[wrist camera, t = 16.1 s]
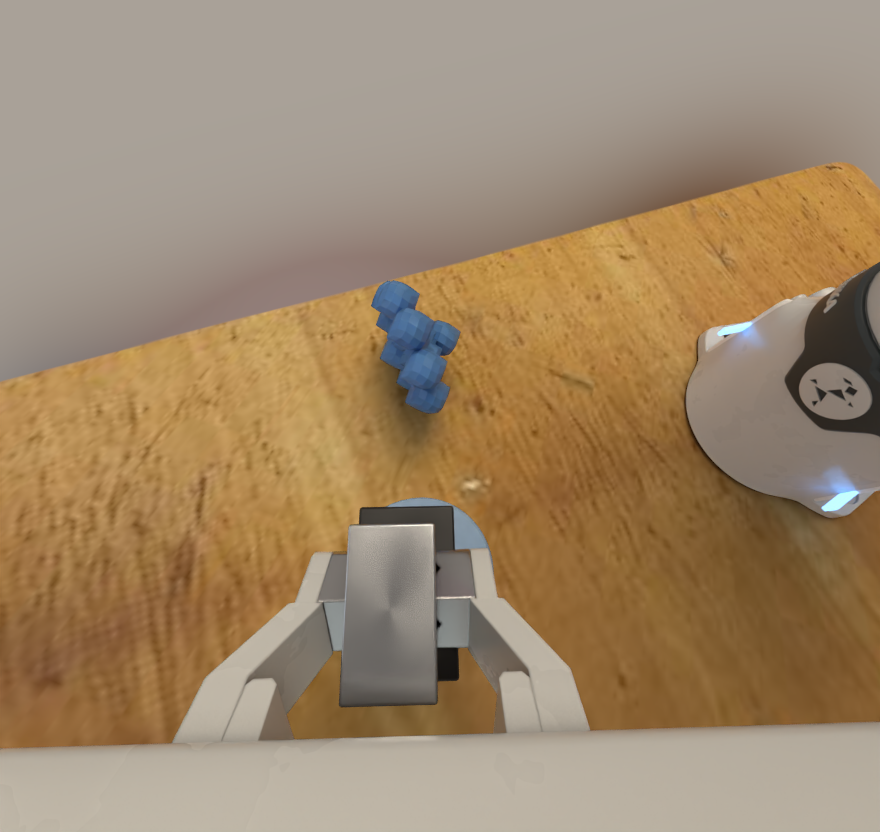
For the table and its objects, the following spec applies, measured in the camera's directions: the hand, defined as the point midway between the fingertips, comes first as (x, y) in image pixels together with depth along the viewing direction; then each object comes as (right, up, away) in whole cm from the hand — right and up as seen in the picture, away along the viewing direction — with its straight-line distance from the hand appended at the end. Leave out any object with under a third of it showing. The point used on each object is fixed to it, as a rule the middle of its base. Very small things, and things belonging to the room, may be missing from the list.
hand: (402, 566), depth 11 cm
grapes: (0, +8, +25) cm, 27 cm away
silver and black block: (0, -2, +4) cm, 4 cm away
